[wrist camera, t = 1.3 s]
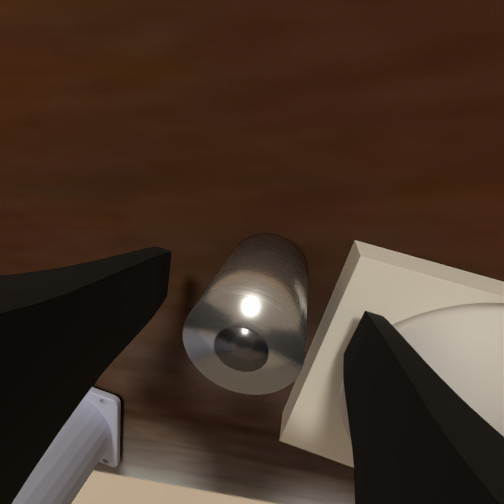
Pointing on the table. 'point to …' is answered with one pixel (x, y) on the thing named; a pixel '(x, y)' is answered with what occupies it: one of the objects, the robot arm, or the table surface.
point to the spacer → (252, 318)
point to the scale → (414, 332)
